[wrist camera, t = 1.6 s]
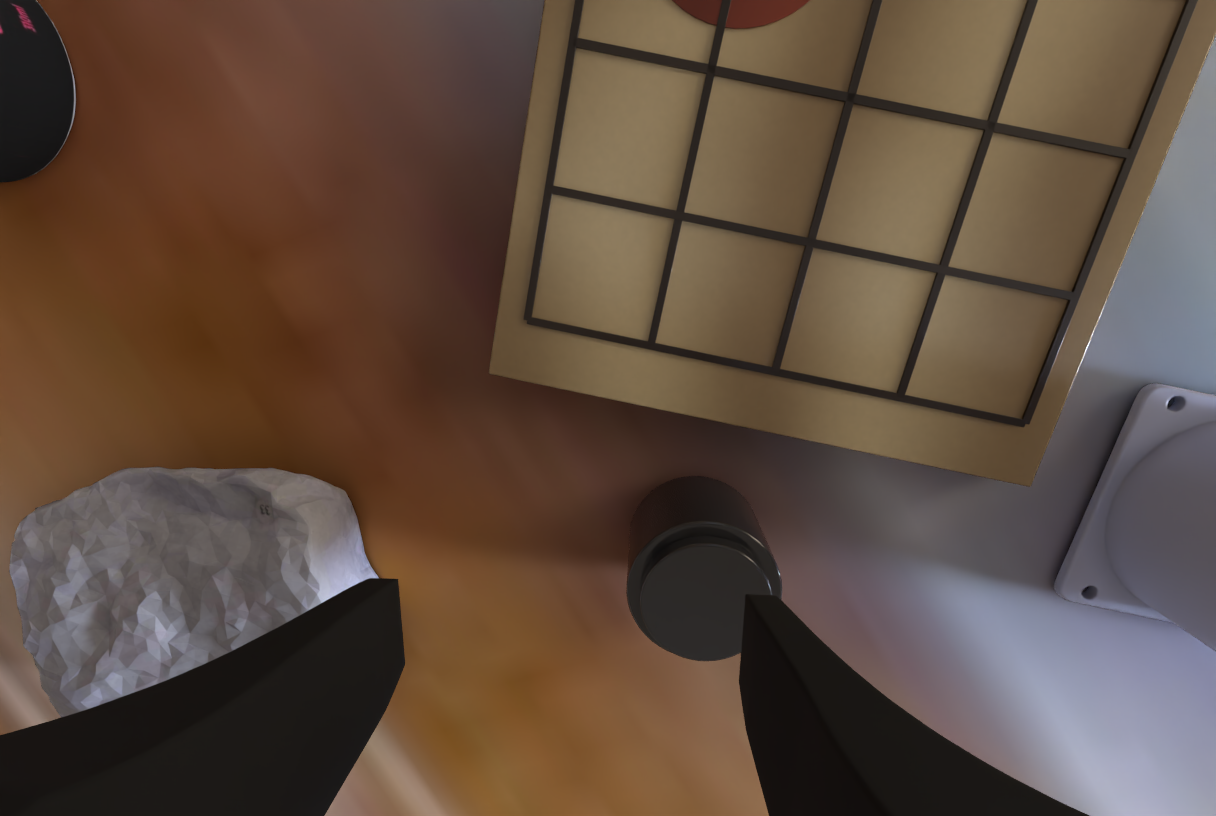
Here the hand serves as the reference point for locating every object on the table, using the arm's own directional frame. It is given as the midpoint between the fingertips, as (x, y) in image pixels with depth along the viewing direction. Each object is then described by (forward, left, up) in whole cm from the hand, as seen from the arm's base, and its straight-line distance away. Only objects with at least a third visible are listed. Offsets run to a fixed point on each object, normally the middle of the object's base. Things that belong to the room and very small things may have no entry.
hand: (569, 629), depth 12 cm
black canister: (-4, +2, -10) cm, 10 cm away
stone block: (+13, +7, -10) cm, 18 cm away
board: (-5, -13, -10) cm, 17 cm away
